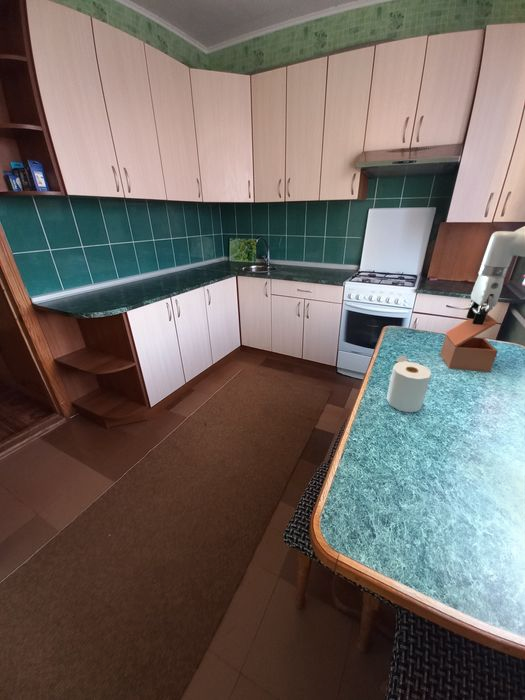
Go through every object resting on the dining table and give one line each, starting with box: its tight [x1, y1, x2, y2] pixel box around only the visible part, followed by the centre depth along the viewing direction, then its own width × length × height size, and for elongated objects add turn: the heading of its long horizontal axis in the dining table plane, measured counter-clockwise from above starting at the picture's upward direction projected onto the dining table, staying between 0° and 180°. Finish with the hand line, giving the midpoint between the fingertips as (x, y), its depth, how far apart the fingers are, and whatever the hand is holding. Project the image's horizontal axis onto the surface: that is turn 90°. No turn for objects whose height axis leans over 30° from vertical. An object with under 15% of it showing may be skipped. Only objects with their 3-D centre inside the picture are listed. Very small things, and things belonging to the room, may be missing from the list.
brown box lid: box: [445, 307, 499, 347], centre depth 107 cm, size 14×12×5 cm
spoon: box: [388, 355, 409, 382], centre depth 109 cm, size 4×21×2 cm, turn 145°
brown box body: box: [439, 334, 499, 373], centre depth 111 cm, size 14×12×9 cm
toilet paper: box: [386, 361, 432, 414], centre depth 89 cm, size 10×10×12 cm
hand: (474, 320), depth 106 cm, fingers closed on brown box lid, 5 cm apart
